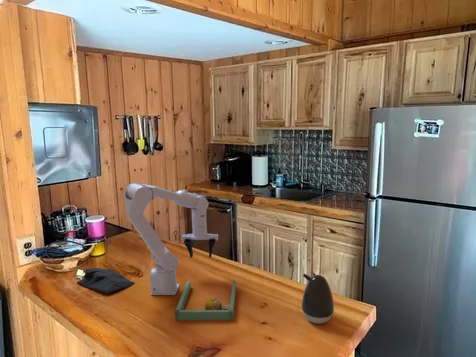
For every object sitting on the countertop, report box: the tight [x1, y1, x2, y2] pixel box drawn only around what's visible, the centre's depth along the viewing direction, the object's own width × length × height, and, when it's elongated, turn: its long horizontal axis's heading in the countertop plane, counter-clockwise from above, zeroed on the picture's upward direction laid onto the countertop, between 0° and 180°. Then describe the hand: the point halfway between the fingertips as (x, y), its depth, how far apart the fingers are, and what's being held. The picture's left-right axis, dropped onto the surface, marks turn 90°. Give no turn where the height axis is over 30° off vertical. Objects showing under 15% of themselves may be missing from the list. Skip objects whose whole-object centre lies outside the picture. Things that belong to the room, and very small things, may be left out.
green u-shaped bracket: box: [174, 279, 237, 321], centre depth 127 cm, size 19×22×3 cm
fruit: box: [204, 297, 230, 310], centre depth 122 cm, size 8×8×4 cm
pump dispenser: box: [301, 273, 335, 325], centre depth 114 cm, size 10×10×15 cm
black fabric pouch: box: [77, 267, 135, 294], centre depth 143 cm, size 15×22×5 cm
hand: (200, 256), depth 144 cm, fingers open, 7 cm apart
